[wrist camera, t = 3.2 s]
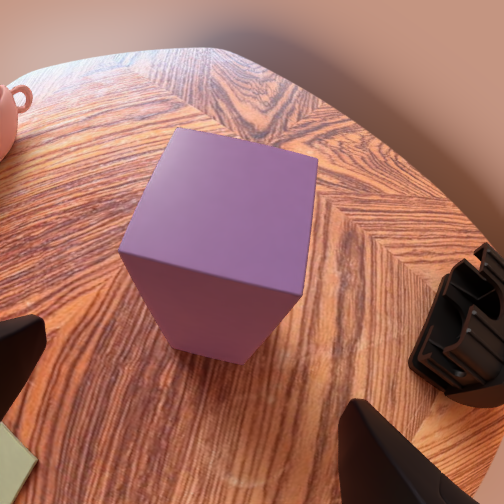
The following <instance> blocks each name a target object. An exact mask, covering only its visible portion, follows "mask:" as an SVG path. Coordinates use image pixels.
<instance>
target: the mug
mask: <svg viewBox="0 0 504 504" xmlns="http://www.w3.org/2000/svg"><path fill="white" fill-rule="evenodd" d="M18 92H22V93H24V94H25V96H26V103H25V105H24V106H21V107H17V106H16V103H15V101H14V98H13V95H14V94H16V93H18ZM32 99H33V95H32V92H31V90H30V89H29V88H28V87H27V86H25V85H18V86H16V87H14V88H13V89H11V90H9V89H8V88H7V87H6V86H4V85H1V84H0V161H1V160H2V159H3V158H4V157H5V156H6V154H7V153H8V152H9V150H10V149H11V147H12V145H13V143H14V141H15V138H16V134H17V126H18V113H24V112H26V111H27V110H28V109H29V108H30V106H31V103H32Z"/></svg>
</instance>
